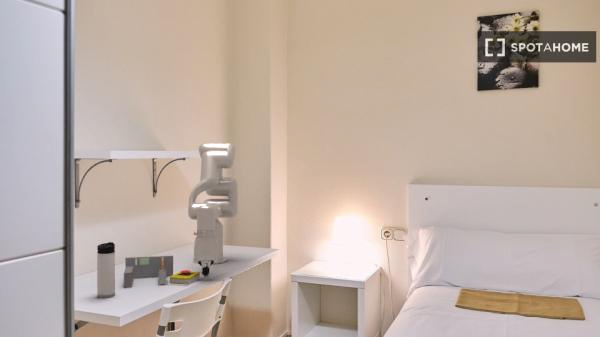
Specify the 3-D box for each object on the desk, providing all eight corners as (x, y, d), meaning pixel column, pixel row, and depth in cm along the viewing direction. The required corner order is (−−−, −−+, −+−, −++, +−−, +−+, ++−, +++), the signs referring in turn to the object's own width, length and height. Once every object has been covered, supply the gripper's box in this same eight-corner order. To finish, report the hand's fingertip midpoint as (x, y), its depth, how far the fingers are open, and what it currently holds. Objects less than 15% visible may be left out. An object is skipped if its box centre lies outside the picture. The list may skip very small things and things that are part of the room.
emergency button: (202, 268, 217) (186, 276, 203) (202, 278, 217) (186, 287, 203) (182, 267, 219) (166, 275, 205) (182, 276, 219) (166, 285, 205)
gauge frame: (125, 278, 214) (125, 257, 214) (173, 275, 220) (173, 255, 219) (122, 287, 199) (122, 265, 199) (173, 284, 205) (173, 263, 204)
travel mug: (118, 293, 191) (118, 242, 190) (108, 298, 185) (108, 245, 184) (104, 292, 192) (104, 241, 192) (93, 297, 186) (93, 244, 185)
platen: (159, 277, 214) (159, 260, 214) (166, 277, 215) (166, 260, 215) (158, 284, 204) (158, 266, 203) (166, 284, 204) (166, 265, 204)
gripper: (188, 236, 207) (188, 279, 208) (224, 234, 211) (224, 277, 212) (187, 233, 214) (187, 274, 215) (222, 231, 218) (222, 273, 219)
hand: (205, 275), depth 213 cm, fingers closed
